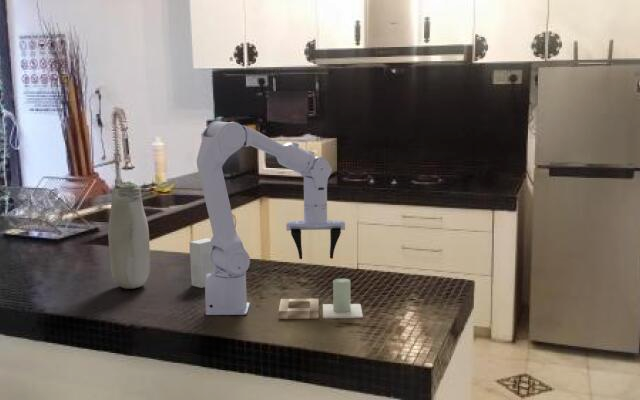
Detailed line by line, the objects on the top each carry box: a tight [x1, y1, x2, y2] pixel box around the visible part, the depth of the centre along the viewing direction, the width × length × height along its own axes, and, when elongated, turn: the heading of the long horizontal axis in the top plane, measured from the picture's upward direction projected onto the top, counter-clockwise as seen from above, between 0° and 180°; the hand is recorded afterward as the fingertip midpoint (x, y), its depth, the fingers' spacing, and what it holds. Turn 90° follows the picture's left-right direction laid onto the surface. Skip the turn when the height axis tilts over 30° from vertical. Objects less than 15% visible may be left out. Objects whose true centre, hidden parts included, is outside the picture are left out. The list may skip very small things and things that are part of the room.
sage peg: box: [332, 278, 352, 313], centre depth 154 cm, size 4×4×7 cm
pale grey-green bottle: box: [107, 181, 151, 290], centre depth 174 cm, size 10×10×28 cm
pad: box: [322, 303, 364, 319], centre depth 155 cm, size 9×9×1 cm
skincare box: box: [189, 237, 215, 289], centre depth 177 cm, size 6×4×12 cm
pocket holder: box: [278, 298, 320, 320], centre depth 154 cm, size 9×9×2 cm
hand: (316, 258), depth 167 cm, fingers open, 7 cm apart
